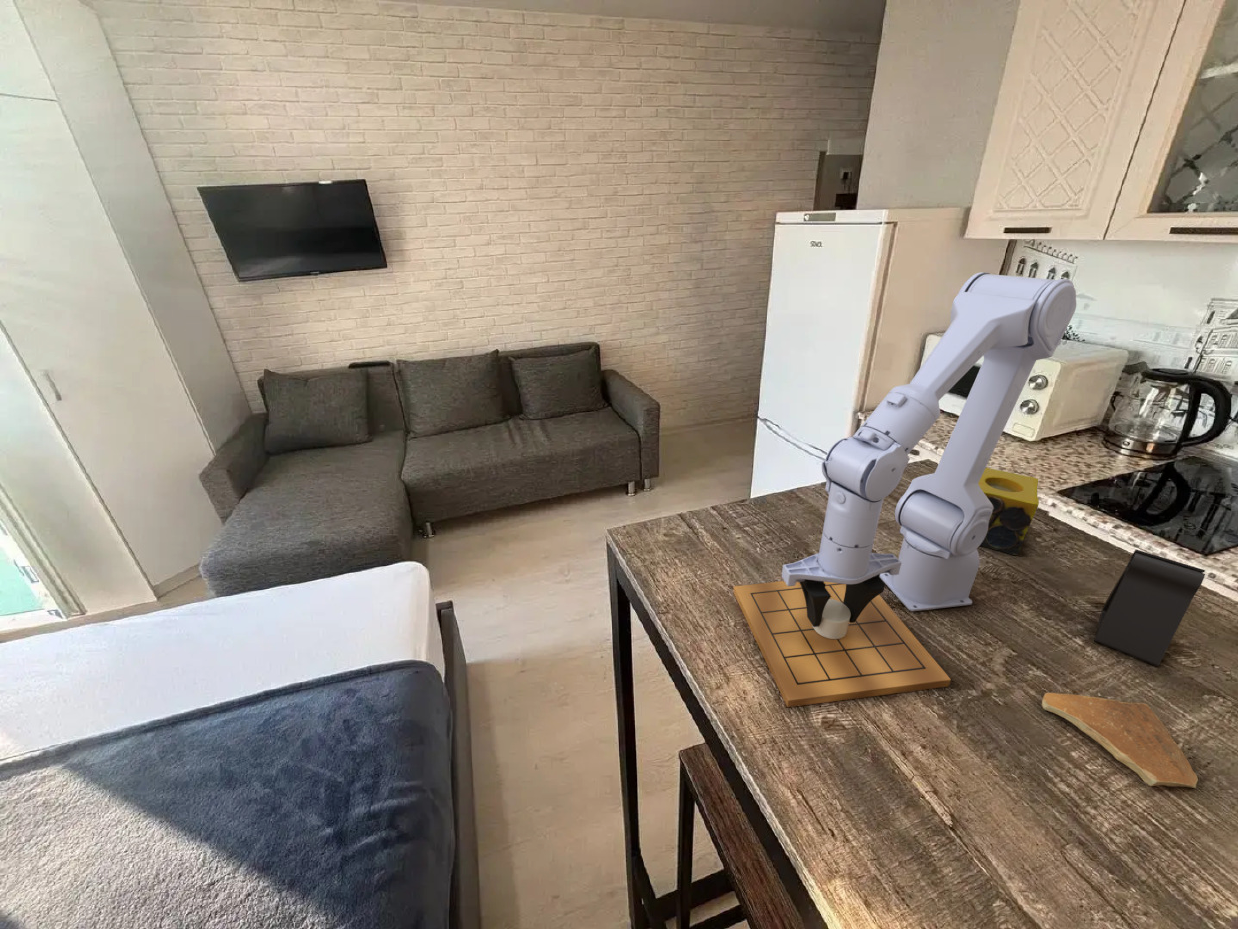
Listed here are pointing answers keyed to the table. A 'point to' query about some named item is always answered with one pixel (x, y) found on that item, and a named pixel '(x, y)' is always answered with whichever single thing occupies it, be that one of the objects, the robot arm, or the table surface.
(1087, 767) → the table surface
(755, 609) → the game board
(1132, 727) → the pottery shard
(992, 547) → the yellow cube with hollow
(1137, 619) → the phone stand
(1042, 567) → the table surface
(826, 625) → the white stone
